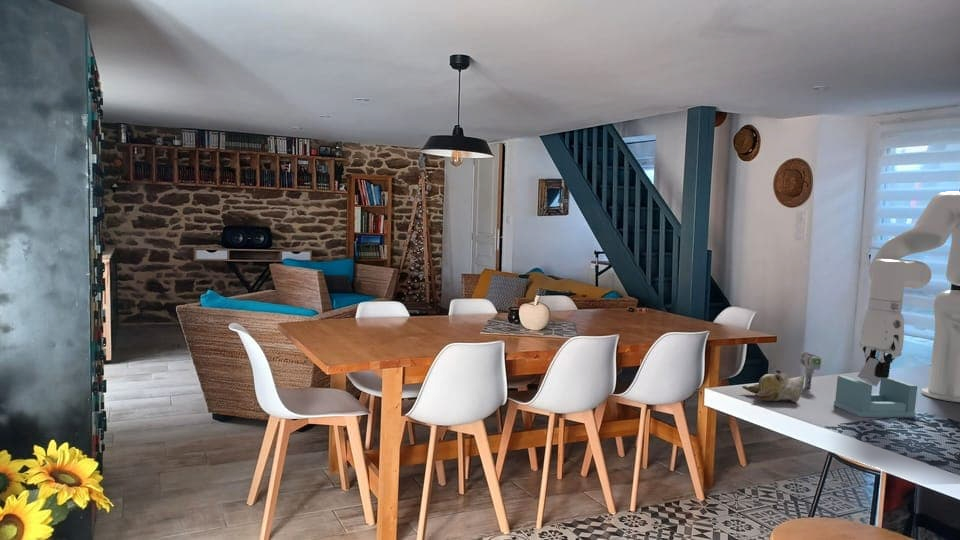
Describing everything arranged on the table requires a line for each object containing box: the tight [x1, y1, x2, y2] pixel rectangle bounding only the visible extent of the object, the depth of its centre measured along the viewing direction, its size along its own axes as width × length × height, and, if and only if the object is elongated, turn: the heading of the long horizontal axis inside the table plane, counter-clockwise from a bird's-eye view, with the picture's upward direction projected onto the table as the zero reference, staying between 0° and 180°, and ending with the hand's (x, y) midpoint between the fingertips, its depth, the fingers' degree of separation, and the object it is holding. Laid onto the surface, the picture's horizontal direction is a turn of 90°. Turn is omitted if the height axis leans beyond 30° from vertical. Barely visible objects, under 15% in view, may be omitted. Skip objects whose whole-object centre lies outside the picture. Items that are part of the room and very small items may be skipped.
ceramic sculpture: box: [741, 369, 805, 403], centre depth 184 cm, size 11×9×15 cm
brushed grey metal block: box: [857, 358, 882, 387], centre depth 177 cm, size 4×4×6 cm
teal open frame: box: [833, 375, 918, 418], centre depth 178 cm, size 16×10×8 cm, turn 99°
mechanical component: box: [799, 351, 823, 389], centre depth 200 cm, size 3×10×10 cm, turn 174°
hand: (876, 374), depth 177 cm, fingers closed on brushed grey metal block, 3 cm apart
